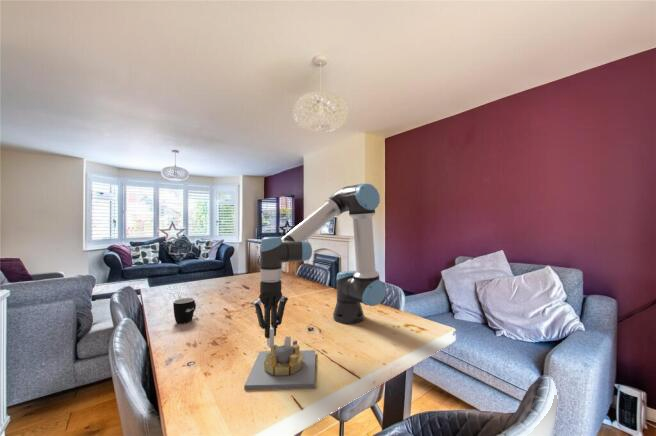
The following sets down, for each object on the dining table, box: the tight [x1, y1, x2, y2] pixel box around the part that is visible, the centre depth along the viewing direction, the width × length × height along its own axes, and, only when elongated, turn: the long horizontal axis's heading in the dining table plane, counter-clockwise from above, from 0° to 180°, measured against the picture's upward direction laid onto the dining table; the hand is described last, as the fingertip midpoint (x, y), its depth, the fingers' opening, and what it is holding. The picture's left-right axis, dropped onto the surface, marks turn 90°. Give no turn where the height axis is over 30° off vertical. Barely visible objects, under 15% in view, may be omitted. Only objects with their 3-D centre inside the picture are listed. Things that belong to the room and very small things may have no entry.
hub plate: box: [243, 340, 316, 390], centre depth 87 cm, size 20×20×6 cm
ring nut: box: [264, 336, 303, 376], centre depth 91 cm, size 20×12×4 cm, turn 3°
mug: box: [172, 297, 197, 325], centre depth 130 cm, size 12×9×10 cm
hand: (270, 346), depth 96 cm, fingers closed
